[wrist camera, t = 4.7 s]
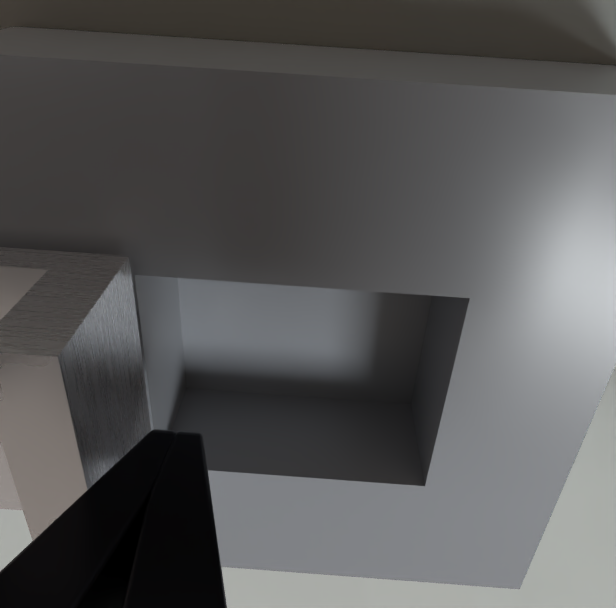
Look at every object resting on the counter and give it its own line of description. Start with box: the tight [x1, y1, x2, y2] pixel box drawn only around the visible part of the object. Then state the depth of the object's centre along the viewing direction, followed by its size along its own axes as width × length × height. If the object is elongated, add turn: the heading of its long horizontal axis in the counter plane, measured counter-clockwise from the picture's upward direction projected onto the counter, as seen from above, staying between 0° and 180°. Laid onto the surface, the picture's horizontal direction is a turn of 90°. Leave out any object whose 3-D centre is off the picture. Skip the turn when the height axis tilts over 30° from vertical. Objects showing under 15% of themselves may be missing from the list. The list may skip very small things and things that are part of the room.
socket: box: [0, 27, 616, 589], centre depth 12 cm, size 11×11×3 cm
